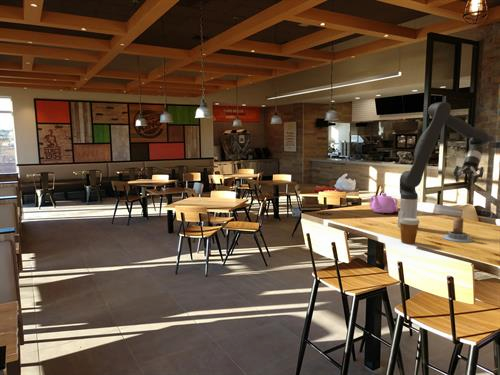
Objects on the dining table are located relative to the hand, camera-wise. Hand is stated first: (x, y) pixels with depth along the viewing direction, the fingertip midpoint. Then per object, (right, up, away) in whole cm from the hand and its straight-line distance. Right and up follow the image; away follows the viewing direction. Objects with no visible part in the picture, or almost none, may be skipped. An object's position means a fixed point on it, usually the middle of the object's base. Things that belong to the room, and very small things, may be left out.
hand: (465, 181), depth 213 cm
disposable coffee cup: (-40, -31, -20) cm, 54 cm away
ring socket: (-11, -30, -12) cm, 34 cm away
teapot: (-24, -22, +65) cm, 73 cm away
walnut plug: (-11, -29, -12) cm, 33 cm away
